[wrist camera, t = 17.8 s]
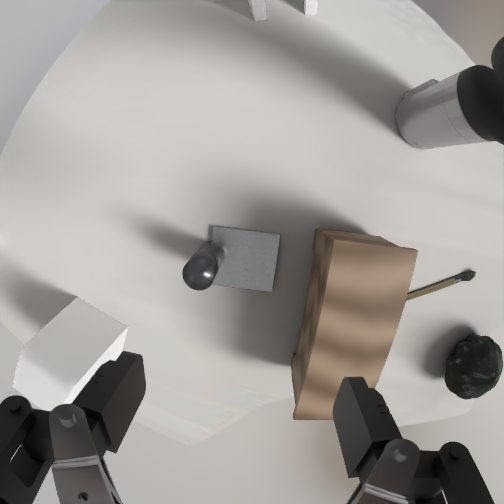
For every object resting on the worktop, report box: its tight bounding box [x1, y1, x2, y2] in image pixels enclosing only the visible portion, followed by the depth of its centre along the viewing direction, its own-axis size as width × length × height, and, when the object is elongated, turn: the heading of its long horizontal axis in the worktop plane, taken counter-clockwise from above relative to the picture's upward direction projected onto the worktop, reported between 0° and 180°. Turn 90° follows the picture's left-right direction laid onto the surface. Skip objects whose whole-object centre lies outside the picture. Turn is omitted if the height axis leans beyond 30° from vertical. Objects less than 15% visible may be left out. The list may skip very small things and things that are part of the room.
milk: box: [10, 297, 128, 411], centre depth 36 cm, size 12×12×26 cm
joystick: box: [183, 226, 280, 292], centre depth 39 cm, size 9×12×10 cm
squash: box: [445, 334, 503, 399], centre depth 42 cm, size 14×15×15 cm
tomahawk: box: [406, 271, 476, 300], centre depth 45 cm, size 21×7×1 cm, turn 102°
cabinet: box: [291, 228, 418, 420], centre depth 40 cm, size 27×11×13 cm, turn 174°
